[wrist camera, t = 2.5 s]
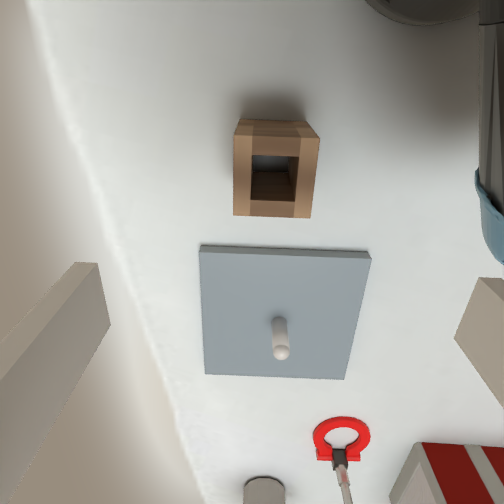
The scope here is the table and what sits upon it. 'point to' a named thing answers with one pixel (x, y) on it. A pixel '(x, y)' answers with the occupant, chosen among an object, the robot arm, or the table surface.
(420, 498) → the striped mailbox
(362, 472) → the table surface
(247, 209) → the block
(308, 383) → the table surface
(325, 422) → the tow hook
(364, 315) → the table surface
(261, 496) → the water bottle
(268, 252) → the pin plate
